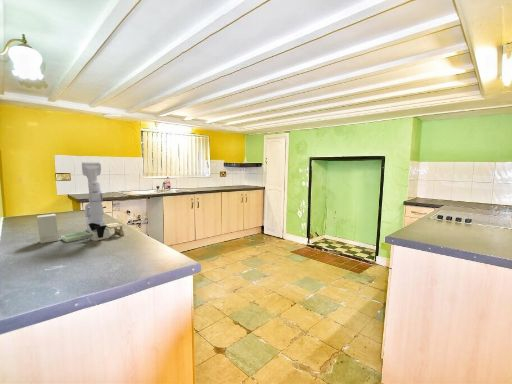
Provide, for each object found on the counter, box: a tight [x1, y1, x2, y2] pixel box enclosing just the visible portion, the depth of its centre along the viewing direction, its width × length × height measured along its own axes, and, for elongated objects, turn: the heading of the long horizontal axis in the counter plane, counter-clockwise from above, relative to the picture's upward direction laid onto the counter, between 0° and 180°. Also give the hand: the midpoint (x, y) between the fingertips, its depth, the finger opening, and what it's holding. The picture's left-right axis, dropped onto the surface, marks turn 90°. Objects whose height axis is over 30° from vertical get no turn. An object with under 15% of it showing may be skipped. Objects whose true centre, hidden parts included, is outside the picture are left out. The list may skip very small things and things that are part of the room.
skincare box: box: [36, 213, 60, 244], centre depth 144 cm, size 8×6×15 cm
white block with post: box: [81, 227, 111, 242], centre depth 148 cm, size 6×14×5 cm, turn 142°
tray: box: [60, 230, 91, 243], centre depth 150 cm, size 10×12×2 cm
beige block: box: [104, 222, 125, 237], centre depth 156 cm, size 9×8×7 cm
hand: (98, 236), depth 149 cm, fingers open, 7 cm apart
